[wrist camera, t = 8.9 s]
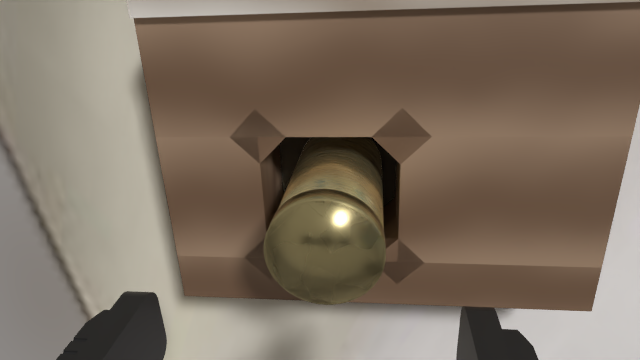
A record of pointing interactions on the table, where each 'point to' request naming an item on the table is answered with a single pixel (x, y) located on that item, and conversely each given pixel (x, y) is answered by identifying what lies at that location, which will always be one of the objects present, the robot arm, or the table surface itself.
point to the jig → (401, 135)
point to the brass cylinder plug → (330, 223)
